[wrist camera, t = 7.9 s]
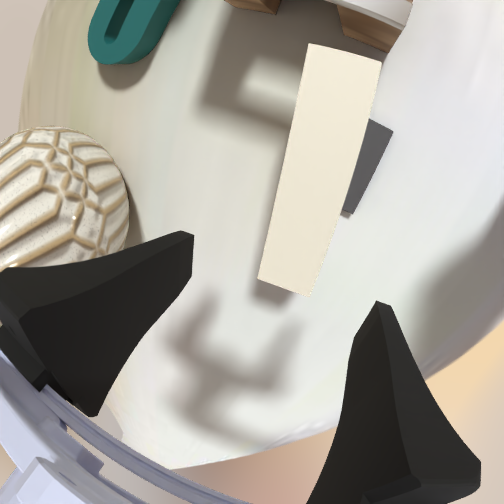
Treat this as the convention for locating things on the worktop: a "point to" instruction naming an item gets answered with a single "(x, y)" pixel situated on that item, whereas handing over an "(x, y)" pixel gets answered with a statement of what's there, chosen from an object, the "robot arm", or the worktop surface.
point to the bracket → (127, 29)
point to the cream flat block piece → (318, 164)
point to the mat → (366, 162)
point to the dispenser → (356, 18)
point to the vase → (59, 199)
